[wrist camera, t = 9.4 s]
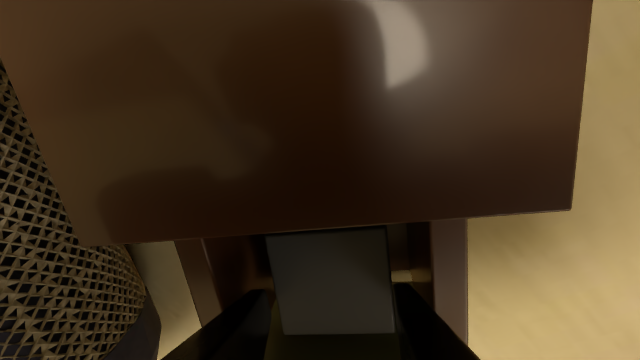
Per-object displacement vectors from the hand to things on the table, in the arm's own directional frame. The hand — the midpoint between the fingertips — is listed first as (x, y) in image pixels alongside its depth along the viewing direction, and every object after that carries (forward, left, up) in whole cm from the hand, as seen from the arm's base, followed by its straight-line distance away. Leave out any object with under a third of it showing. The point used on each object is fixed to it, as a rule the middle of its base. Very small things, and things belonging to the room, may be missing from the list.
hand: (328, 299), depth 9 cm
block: (0, 0, -4) cm, 4 cm away
